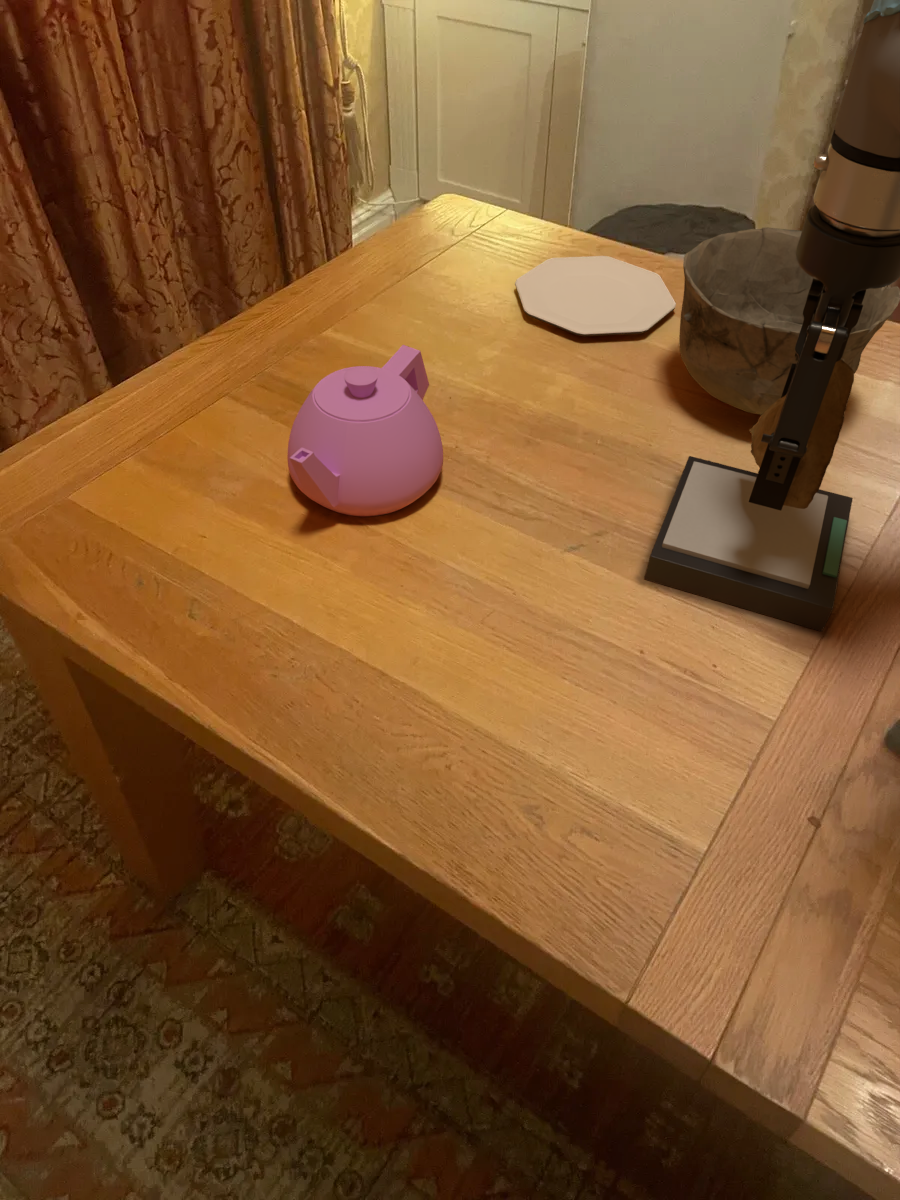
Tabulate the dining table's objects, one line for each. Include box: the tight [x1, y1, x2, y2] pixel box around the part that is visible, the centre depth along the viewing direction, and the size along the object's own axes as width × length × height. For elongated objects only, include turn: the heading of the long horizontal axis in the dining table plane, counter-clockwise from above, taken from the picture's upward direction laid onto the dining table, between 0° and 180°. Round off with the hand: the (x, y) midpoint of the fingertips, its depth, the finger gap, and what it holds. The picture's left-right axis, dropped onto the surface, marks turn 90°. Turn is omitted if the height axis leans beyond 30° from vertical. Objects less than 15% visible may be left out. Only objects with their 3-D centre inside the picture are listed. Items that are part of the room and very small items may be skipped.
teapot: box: [286, 344, 444, 517], centre depth 89 cm, size 22×16×12 cm
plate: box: [514, 255, 677, 337], centre depth 118 cm, size 20×20×2 cm
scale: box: [644, 455, 853, 632], centre depth 85 cm, size 16×16×4 cm
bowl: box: [678, 226, 900, 416], centre depth 99 cm, size 22×22×15 cm
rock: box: [748, 359, 855, 509], centre depth 77 cm, size 11×9×10 cm
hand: (776, 465), depth 79 cm, fingers closed on rock, 10 cm apart
